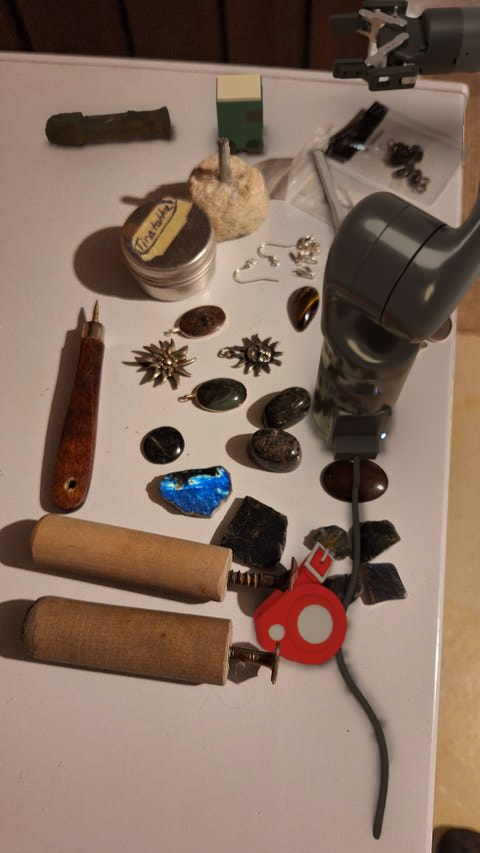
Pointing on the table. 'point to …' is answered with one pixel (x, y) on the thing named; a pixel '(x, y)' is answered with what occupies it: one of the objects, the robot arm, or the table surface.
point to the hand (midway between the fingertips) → (331, 46)
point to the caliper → (329, 189)
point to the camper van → (240, 111)
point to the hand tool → (106, 126)
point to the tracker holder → (304, 615)
